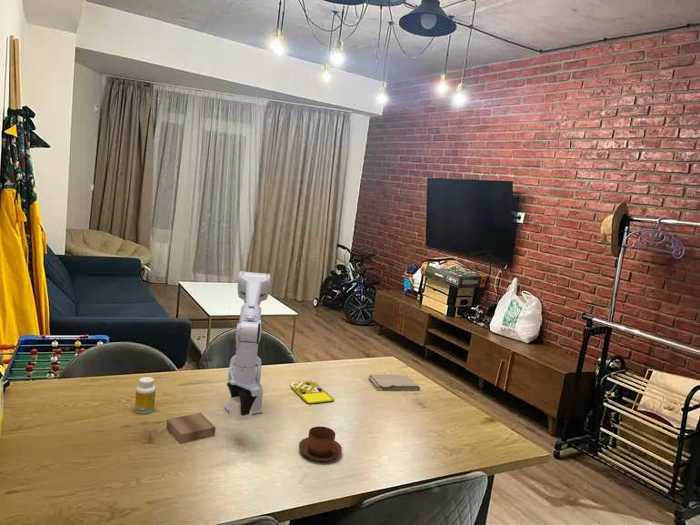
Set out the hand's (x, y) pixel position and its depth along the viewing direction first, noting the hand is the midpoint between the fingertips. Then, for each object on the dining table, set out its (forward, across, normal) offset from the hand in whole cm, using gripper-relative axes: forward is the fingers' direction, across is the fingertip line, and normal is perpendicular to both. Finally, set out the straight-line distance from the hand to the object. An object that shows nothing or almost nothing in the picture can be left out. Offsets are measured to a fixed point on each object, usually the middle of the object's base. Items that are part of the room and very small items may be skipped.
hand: (240, 410), depth 143 cm
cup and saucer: (+9, +16, +17) cm, 25 cm away
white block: (+2, 0, 0) cm, 2 cm away
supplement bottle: (+9, -28, -16) cm, 34 cm away
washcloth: (+10, -12, +73) cm, 75 cm away
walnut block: (+9, -10, -9) cm, 17 cm away
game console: (+10, -19, +39) cm, 44 cm away
